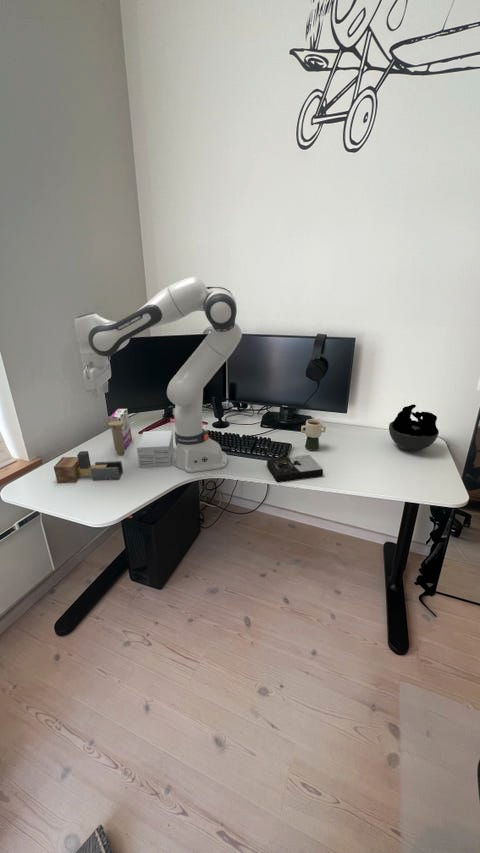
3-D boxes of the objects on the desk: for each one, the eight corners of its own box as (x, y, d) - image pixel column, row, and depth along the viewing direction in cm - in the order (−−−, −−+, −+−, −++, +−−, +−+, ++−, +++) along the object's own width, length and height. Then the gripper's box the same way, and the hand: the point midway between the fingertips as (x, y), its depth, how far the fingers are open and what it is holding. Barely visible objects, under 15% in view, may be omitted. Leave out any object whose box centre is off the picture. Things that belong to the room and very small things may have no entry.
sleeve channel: (123, 472, 142) (121, 461, 140) (119, 479, 137) (117, 468, 135) (97, 472, 142) (95, 461, 140) (92, 480, 136) (90, 469, 134)
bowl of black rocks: (428, 463, 147) (438, 421, 139) (380, 450, 158) (386, 411, 151) (438, 446, 161) (447, 407, 154) (392, 435, 173) (399, 399, 165)
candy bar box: (122, 440, 170) (117, 408, 164) (132, 440, 170) (128, 408, 164) (114, 450, 160) (108, 417, 153) (125, 450, 160) (120, 417, 153)
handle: (125, 456, 154) (121, 425, 148) (111, 456, 155) (106, 425, 149) (129, 451, 159) (125, 421, 153) (115, 451, 159) (110, 420, 153)
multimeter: (266, 467, 146) (266, 456, 144) (309, 461, 150) (310, 451, 148) (276, 483, 134) (276, 472, 132) (323, 477, 138) (324, 466, 136)
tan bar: (108, 471, 140) (105, 450, 136) (106, 475, 137) (102, 454, 134) (67, 472, 139) (62, 451, 136) (64, 476, 137) (59, 455, 133)
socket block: (83, 472, 142) (80, 456, 140) (76, 482, 135) (72, 466, 132) (65, 472, 142) (62, 457, 139) (57, 483, 135) (53, 467, 132)
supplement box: (171, 466, 147) (169, 446, 143) (138, 468, 145) (136, 447, 142) (174, 448, 162) (172, 429, 158) (145, 449, 161) (142, 431, 157)
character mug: (322, 444, 164) (324, 418, 159) (325, 451, 157) (328, 425, 152) (298, 445, 164) (300, 419, 159) (301, 452, 157) (302, 425, 152)
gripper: (94, 365, 120) (102, 404, 125) (111, 354, 138) (117, 387, 144) (75, 366, 119) (84, 405, 125) (94, 355, 138) (101, 388, 144)
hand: (102, 395), depth 134 cm, fingers open, 8 cm apart
